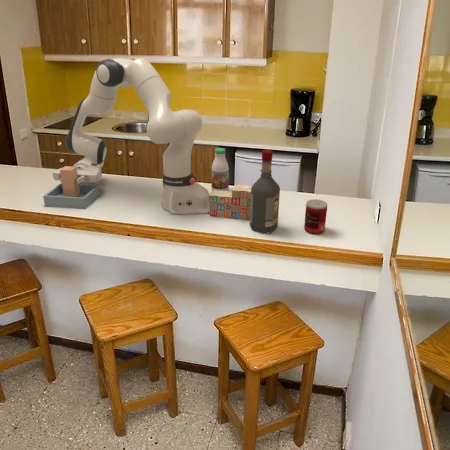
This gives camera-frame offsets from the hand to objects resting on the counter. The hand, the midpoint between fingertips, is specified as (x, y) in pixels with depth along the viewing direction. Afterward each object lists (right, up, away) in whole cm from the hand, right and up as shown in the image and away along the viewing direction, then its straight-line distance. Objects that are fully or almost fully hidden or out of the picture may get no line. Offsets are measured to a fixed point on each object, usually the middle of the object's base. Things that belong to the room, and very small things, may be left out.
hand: (69, 181), depth 191 cm
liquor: (+80, -20, -18) cm, 85 cm away
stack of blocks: (+70, -15, -8) cm, 72 cm away
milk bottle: (+63, -4, +15) cm, 65 cm away
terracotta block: (0, -6, +4) cm, 7 cm away
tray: (0, -8, +5) cm, 9 cm away
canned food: (+99, -21, -20) cm, 103 cm away
